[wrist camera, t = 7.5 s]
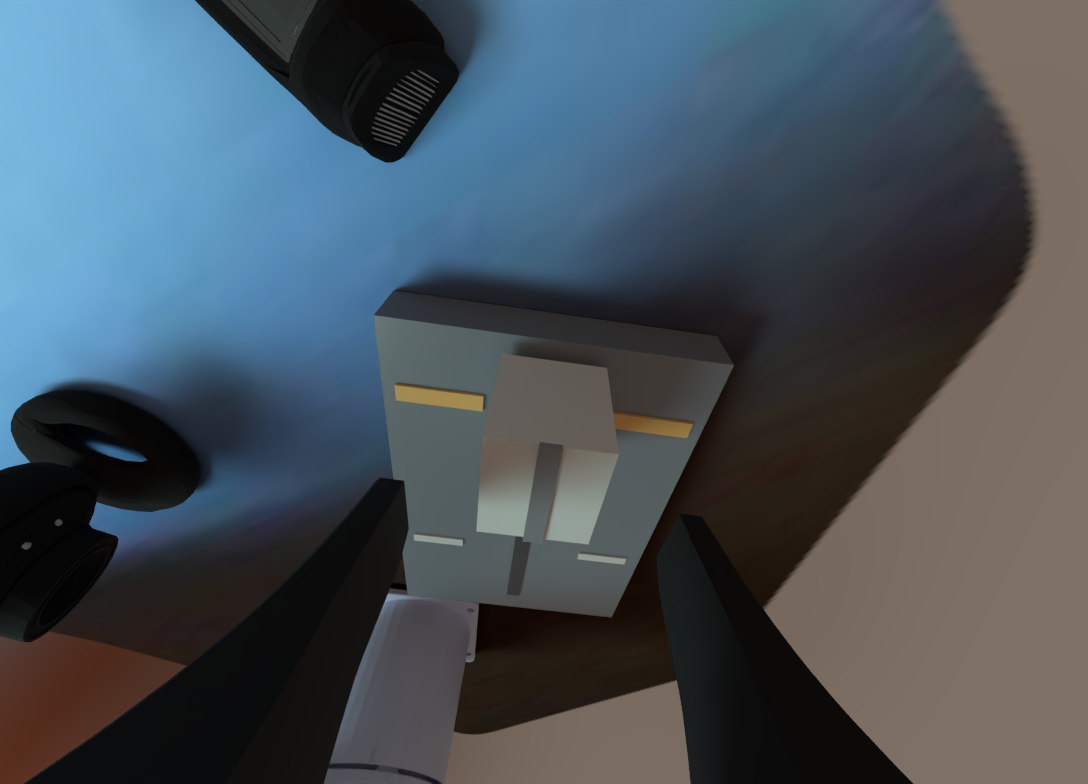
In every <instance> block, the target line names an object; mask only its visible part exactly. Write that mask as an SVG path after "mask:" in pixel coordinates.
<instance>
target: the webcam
mask: <svg viewBox="0 0 1088 784" xmlns="http://www.w3.org/2000/svg"><path fill="white" fill-rule="evenodd" d="M62 423H72V424H77V425H83V426H86V427H90V428H93V429H97V430H100V431H102V432H105V433H107V434H109V435H111V436H113V437H115V438H117V439H119V440H121V441H124V442H125V443H127V444H128V445H130V446H131V447H133V448H134V449H136V450H137V451H139V452H140V453H141V454H143V455H144V456H145V457H146V459H147V461H144V462H134V461H125V460H121V459H117V458H114V457H110V456H107V455H104V454H101V453H99V452H96V451H93V450H90V449H88V448H85V447H83V446H81V445H79V444H77V443H75V442H73V441H71V440H69V439H68V438H66V437H65V436H63V435H62V433H61V429H60V424H62ZM11 432H12V435H13V437H14V440H15V442H16V445H17V447H18V448H19V450H20V451H21V452H22V453H23V454H24V455H25V457H26V458H27V459H28V460H29V462H30V463H26V464H22V465H17V466H13V467H8V468H6V469H3V470H0V636H2V637H6V638H10V639H14V640H18V641H22V642H32V641H34V640H36V639H37V638H40V637H41V636H42V635H44V634H46V633H47V632H48V631H50V630H51V629H52V628H53V627H54V626H56V625H57V624H58V623H59V622H60V621H61V620H62V619H63V618H64V617H65V616H66V615H67V614H68V613H69V612H70V611H71V610H72V609H73V608H74V607H75V606H76V605H77V604H78V603H79V602H80V601H81V599H82V598H83V597H84V596H85V595H86V594H87V593H88V591H89V590H90V589H91V588H92V586H93V585H94V584H95V583H96V581H97V580H98V579H99V577H100V576H101V575H102V573H103V572H104V570H105V569H106V567H107V566H108V564H109V562H110V560H111V559H112V557H113V555H114V553H115V550H116V548H117V545H118V538H117V536H114V535H111V534H108V533H105V532H102V531H99V530H96V529H92V527H91V526H90V525H89V523H90V520H91V518H92V516H93V513H94V508H95V505H96V502H98V503H101V504H105V505H109V506H112V507H116V508H120V509H125V510H133V511H144V512H153V511H158V510H162V509H168V508H171V507H174V506H177V505H179V504H181V503H183V502H184V501H185V500H186V499H187V498H189V497H190V496H191V495H192V494H193V493H194V491H195V489H196V487H197V484H198V481H199V468H198V464H197V460H196V459H195V457H194V456H193V454H192V453H191V452H190V451H189V450H188V448H187V447H186V446H185V445H184V443H183V442H182V441H181V440H180V438H179V437H178V436H177V435H176V434H175V433H173V432H172V431H171V430H169V429H168V428H167V427H165V426H164V425H163V424H162V423H160V422H159V421H158V420H156V419H155V418H154V417H152V416H150V415H148V414H146V413H145V412H143V411H141V410H139V409H137V408H135V407H133V406H131V405H129V404H127V403H124V402H121V401H118V400H115V399H112V398H110V397H107V396H102V395H98V394H93V393H89V392H82V391H53V392H49V393H46V394H42V395H39V396H36V397H34V398H32V399H31V400H29V401H27V402H25V403H23V404H22V405H21V406H20V407H19V408H18V409H17V410H16V412H15V413H14V416H13V418H12V421H11Z"/></svg>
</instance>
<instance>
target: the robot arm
mask: <svg viewBox="0 0 1088 784" xmlns="http://www.w3.org/2000/svg"><path fill="white" fill-rule="evenodd" d="M408 530H409V525H408V514H407V504H406V494H405V484H404V481H403V480H395V479H386V478H379V479H378V480H376V481H375V483H374V484H373V485H372V486H371V488H370V489H369V490H368V491H367V492H366V494H365V495H364V496H363V497H362V499H361V500H360V501H359V502H358V503H357V504H356V506H355V507H354V508H353V509H352V510H351V511H350V513H349V514H348V515H347V516H346V517H345V518H344V519H343V521H342V522H341V523H340V524H339V525H338V526H337V527H336V528H335V529H334V531H333V532H332V533H331V534H330V535H329V536H328V537H327V538H326V539H325V540H324V541H323V542H322V544H321V545H320V546H319V547H318V548H317V549H316V550H315V551H314V552H313V553H312V554H311V555H310V556H309V557H308V558H307V559H306V560H305V561H304V562H303V563H302V564H301V565H300V566H299V567H298V568H297V569H296V570H295V571H294V572H293V573H292V574H291V575H290V576H289V577H288V578H287V579H286V580H285V581H284V582H283V583H282V584H281V585H280V586H279V587H278V588H277V589H276V590H275V591H274V592H273V593H272V594H270V595H269V596H268V597H267V598H266V599H265V600H264V601H263V602H262V603H261V604H260V605H259V606H257V607H256V608H255V609H254V610H253V611H252V612H251V613H250V614H248V615H247V616H246V617H245V618H244V619H243V620H242V621H240V622H239V623H238V624H237V625H236V626H235V627H234V628H232V629H231V630H230V631H229V632H228V633H227V634H225V635H224V636H223V637H222V638H221V639H219V640H218V641H217V642H216V643H214V644H213V645H212V646H211V647H210V648H208V649H207V650H206V651H205V652H204V653H202V654H201V655H200V656H199V657H198V658H196V659H195V660H194V661H193V662H191V663H190V664H189V665H188V666H186V667H185V668H184V669H183V670H181V671H180V672H179V673H178V674H176V675H175V676H174V677H172V678H171V679H170V680H168V681H167V682H166V683H164V684H163V685H162V686H160V687H159V688H158V689H156V690H155V691H154V692H152V693H151V694H150V695H148V696H147V697H146V698H144V699H143V700H142V701H140V702H139V703H138V704H136V705H135V706H134V707H132V708H131V709H129V710H128V711H127V712H125V713H124V714H123V715H122V716H120V717H119V718H118V719H116V720H115V721H114V722H112V723H111V724H110V725H108V726H107V727H105V728H104V729H102V730H101V731H100V732H98V733H97V734H95V735H94V736H93V737H91V738H90V739H88V740H87V741H85V742H84V743H82V744H81V745H79V746H78V747H77V748H75V749H74V750H72V751H71V752H69V753H68V754H66V755H65V756H63V757H62V758H61V759H59V760H58V761H56V762H55V763H53V764H52V765H50V766H49V767H47V768H46V769H44V770H43V771H41V772H40V773H39V774H37V775H36V776H34V777H33V778H31V779H30V780H28V781H27V782H26V783H24V784H444V782H445V776H446V770H447V765H448V759H449V753H450V748H451V742H452V736H453V730H454V724H455V719H456V713H457V707H458V701H459V696H460V690H461V684H462V678H463V673H464V667H465V662H472V661H474V658H475V648H476V636H477V624H478V612H479V603H475V602H466V601H457V600H448V599H439V598H430V597H421V596H412V595H408V593H407V590H402V589H392V588H390V587H391V585H392V582H393V580H394V577H395V575H396V572H397V569H398V566H399V563H400V559H401V556H402V552H403V549H404V545H405V542H406V538H407V534H408ZM656 561H657V574H658V585H659V594H660V601H661V606H662V611H663V616H664V621H665V626H666V631H667V636H668V640H669V645H670V650H671V655H672V659H673V664H674V669H675V674H676V678H677V682H678V688H679V693H680V699H681V705H682V711H683V718H684V727H685V736H686V744H687V752H688V761H689V771H690V781H691V784H913V783H912V782H911V781H910V780H909V779H908V778H907V777H906V776H905V775H904V774H903V773H902V772H901V771H900V770H899V769H898V768H897V767H896V766H895V765H894V764H893V762H892V761H891V760H890V759H889V758H888V757H887V756H886V755H885V754H884V753H883V752H882V751H881V750H880V749H879V748H878V746H877V745H875V743H874V742H873V741H872V740H871V739H870V738H869V737H868V736H867V735H866V734H865V733H864V732H863V730H861V728H860V727H859V726H858V725H857V724H856V723H855V722H854V721H853V720H852V719H851V718H850V717H849V715H847V713H846V712H845V711H844V710H843V709H842V708H841V706H840V705H839V704H838V703H837V702H836V701H835V700H834V698H833V697H832V696H831V695H830V694H829V693H828V692H827V690H826V689H825V688H824V687H823V685H821V683H820V682H819V681H818V680H817V678H816V677H815V676H814V675H813V674H812V672H810V670H809V669H808V668H807V666H806V665H805V664H804V663H803V661H802V660H801V659H800V658H799V656H798V655H797V654H796V652H795V651H794V650H793V649H792V647H791V646H790V645H789V643H788V642H787V641H786V639H785V638H784V637H783V635H782V634H781V633H780V631H779V630H778V629H777V627H776V626H775V625H774V623H773V622H772V621H771V619H770V618H769V616H768V615H767V614H766V612H765V611H764V610H763V608H762V607H761V605H760V604H759V602H758V601H757V600H756V598H755V597H754V595H753V594H752V592H751V591H750V589H749V588H748V587H747V585H746V584H745V582H744V581H743V579H742V578H741V576H740V575H739V573H738V572H737V570H736V569H735V567H734V566H733V564H732V563H731V561H730V560H729V558H728V556H727V555H726V553H725V552H724V550H723V549H722V547H721V546H720V544H719V543H718V541H717V539H716V538H715V536H714V535H713V533H712V532H711V530H710V528H709V527H708V525H707V524H706V522H705V521H704V519H703V518H702V517H701V516H693V515H685V514H679V515H678V517H677V519H676V521H675V522H674V524H673V526H672V528H671V530H670V532H669V534H668V536H667V538H666V540H665V542H664V544H663V546H662V547H661V549H660V551H659V553H658V555H657V557H656Z"/></svg>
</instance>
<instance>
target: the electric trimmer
mask: <svg viewBox="0 0 1088 784" xmlns="http://www.w3.org/2000/svg"><path fill="white" fill-rule="evenodd" d="M195 1H196V2H197V3H198V4H199V5H200V6H201V7H202V8H203V9H204V10H205V11H206V12H207V13H208V14H209V15H210V16H211V17H212V18H213V19H214V20H215V21H216V22H217V23H218V24H219V25H220V26H221V27H222V28H223V29H224V30H225V31H226V32H227V33H228V34H229V35H230V36H232V37H233V38H234V39H235V40H236V41H237V42H238V43H239V44H240V45H241V46H242V47H243V48H244V49H245V50H246V51H247V52H248V53H249V54H250V55H251V56H252V57H253V58H254V59H255V60H256V61H257V62H258V63H259V64H260V65H261V66H262V67H263V68H264V69H265V70H266V71H267V72H268V73H269V74H270V75H272V76H273V77H274V78H275V79H276V80H277V81H278V82H279V83H280V84H281V85H282V86H284V87H285V88H286V89H287V90H288V91H289V92H290V93H291V94H292V95H293V96H294V97H296V98H297V99H298V100H299V101H300V102H301V103H302V104H303V105H304V106H305V107H306V108H307V109H308V110H309V111H310V112H311V113H312V114H313V115H314V116H315V117H316V118H317V119H318V120H319V121H320V122H321V123H322V124H323V125H324V126H325V127H326V128H327V129H329V130H330V131H331V132H332V133H334V134H335V135H337V136H339V137H341V138H343V139H345V140H347V141H349V142H351V143H353V144H355V145H357V146H360V147H362V148H363V149H364V150H366V151H367V152H368V153H369V154H370V155H371V156H373V157H375V158H377V159H379V160H382V161H384V162H395V161H397V160H399V159H401V158H402V157H403V156H404V155H405V154H406V152H407V151H408V149H409V148H410V147H411V145H412V144H413V142H414V141H415V140H416V138H417V137H418V135H419V134H420V133H421V131H422V130H423V128H424V127H425V126H426V124H427V123H428V121H429V120H430V118H431V117H432V116H433V114H434V113H435V111H436V110H437V109H438V107H439V106H440V104H441V103H442V102H443V100H444V99H445V97H446V96H447V94H448V93H449V92H450V90H451V89H452V87H453V86H454V84H455V83H456V81H457V78H458V73H459V71H458V69H457V67H456V65H455V64H454V62H453V61H452V60H451V59H450V58H449V57H448V55H447V54H446V53H445V52H444V40H443V37H442V35H441V34H440V32H439V31H438V30H437V29H436V27H435V26H434V25H433V24H432V22H431V21H430V20H429V18H428V17H427V16H426V15H425V13H424V12H423V11H422V10H421V9H419V8H418V7H417V6H416V5H415V4H414V3H413V2H411V1H410V0H195Z"/></svg>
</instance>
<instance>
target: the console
mask: <svg viewBox="0 0 1088 784" xmlns="http://www.w3.org/2000/svg"><path fill="white" fill-rule="evenodd" d="M374 322H375V331H376V339H377V347H378V355H379V363H380V372H381V380H382V388H383V396H384V404H385V413H386V421H387V429H388V437H389V445H390V454H391V462H392V470H393V478H394V479H395V480H403V481H404V484H405V494H406V504H407V514H408V525H409V530H408V534H407V538H406V542H405V545H404V549H403V560H404V568H405V577H406V585H407V593H408V595H412V596H421V597H430V598H439V599H448V600H457V601H466V602H475V603H485V604H494V605H503V606H512V607H521V608H530V609H539V610H549V611H558V612H567V613H576V614H585V615H594V616H603V617H612V616H613V613H614V611H615V609H616V607H617V605H618V603H619V601H620V599H621V597H622V595H623V593H624V591H625V589H626V587H627V585H628V583H629V581H630V578H631V576H632V574H633V572H634V570H635V568H636V566H637V564H638V562H639V560H640V558H641V556H642V554H643V552H644V550H645V548H646V546H647V543H648V541H649V539H650V537H651V535H652V533H653V531H654V529H655V527H656V525H657V523H658V521H659V519H660V517H661V515H662V513H663V511H664V509H665V506H666V504H667V502H668V500H669V498H670V496H671V494H672V492H673V490H674V488H675V486H676V484H677V482H678V480H679V478H680V476H681V474H682V471H683V469H684V467H685V465H686V463H687V461H688V459H689V457H690V455H691V453H692V451H693V449H694V447H695V445H696V443H697V441H698V439H699V436H700V434H701V432H702V430H703V428H704V426H705V424H706V422H707V420H708V418H709V416H710V414H711V412H712V410H713V408H714V406H715V404H716V401H717V399H718V397H719V395H720V393H721V391H722V389H723V387H724V385H725V383H726V381H727V379H728V377H729V375H730V373H731V371H732V369H733V367H734V364H733V363H732V361H731V359H730V357H729V356H728V354H727V352H726V351H725V349H724V347H723V345H722V344H721V342H720V340H719V339H718V337H717V336H713V335H706V334H699V333H692V332H685V331H678V330H671V329H664V328H657V327H650V326H643V325H636V324H629V323H621V322H614V321H607V320H600V319H593V318H586V317H579V316H572V315H565V314H558V313H551V312H544V311H537V310H530V309H523V308H516V307H509V306H502V305H495V304H487V303H480V302H473V301H466V300H459V299H452V298H445V297H438V296H431V295H424V294H417V293H410V292H403V291H396V290H394V291H393V292H392V293H391V295H390V296H389V297H388V298H387V299H386V301H385V302H384V303H383V304H382V306H381V307H380V308H379V309H378V311H377V312H376V313H375V314H374ZM502 354H509V355H517V356H524V357H531V358H538V359H546V360H553V361H560V362H568V363H575V364H582V365H590V366H597V367H604V368H607V371H608V379H609V386H610V393H611V400H612V407H613V415H614V422H615V429H616V436H617V443H618V451H619V456H618V459H617V462H616V465H615V468H614V471H613V474H612V477H611V480H610V482H609V485H608V488H607V491H606V494H605V497H604V500H603V503H602V506H601V509H600V512H599V515H598V518H597V521H596V524H595V527H594V529H593V532H592V535H591V538H590V541H589V544H580V543H571V542H563V541H554V540H546V539H543V541H542V544H540V543H531V542H523V537H520V536H512V535H503V534H495V533H486V532H477V531H476V530H477V514H478V497H479V481H480V465H481V448H482V436H483V432H484V427H485V423H486V419H487V415H488V410H489V406H490V402H491V397H492V393H493V389H494V385H495V380H496V376H497V372H498V368H499V363H500V359H501V355H502Z"/></svg>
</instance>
